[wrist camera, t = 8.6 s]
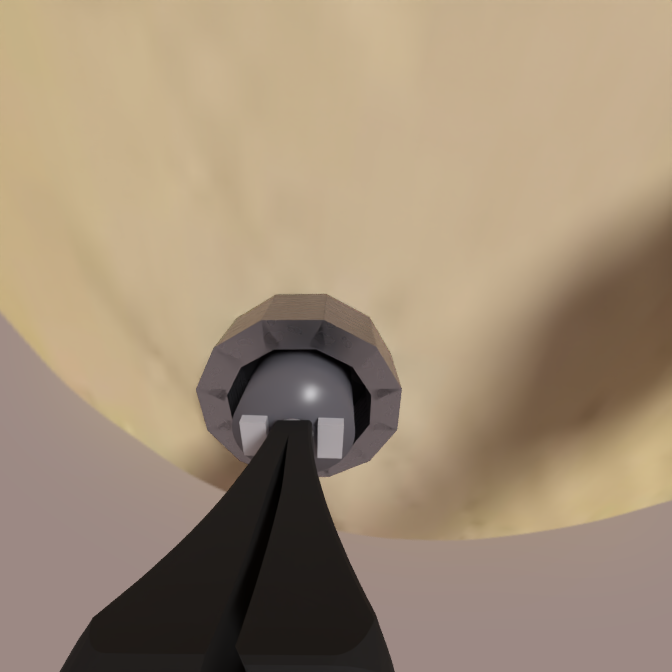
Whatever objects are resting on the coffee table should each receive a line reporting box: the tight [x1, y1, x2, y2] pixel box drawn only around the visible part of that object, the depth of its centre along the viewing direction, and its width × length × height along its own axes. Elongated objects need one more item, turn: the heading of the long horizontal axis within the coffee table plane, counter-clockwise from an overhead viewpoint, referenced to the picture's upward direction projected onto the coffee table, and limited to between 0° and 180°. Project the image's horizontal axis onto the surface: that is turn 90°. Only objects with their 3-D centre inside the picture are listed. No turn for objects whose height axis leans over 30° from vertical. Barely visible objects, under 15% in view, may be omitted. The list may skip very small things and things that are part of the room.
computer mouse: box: [232, 349, 355, 472], centre depth 14 cm, size 5×5×4 cm
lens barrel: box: [196, 294, 402, 477], centre depth 15 cm, size 9×9×3 cm
